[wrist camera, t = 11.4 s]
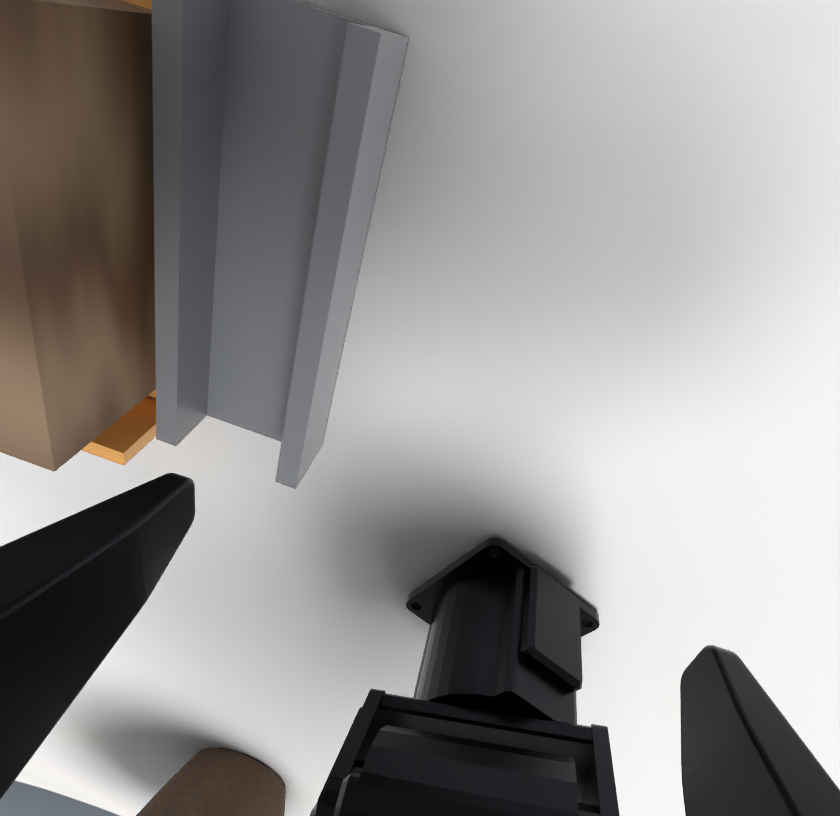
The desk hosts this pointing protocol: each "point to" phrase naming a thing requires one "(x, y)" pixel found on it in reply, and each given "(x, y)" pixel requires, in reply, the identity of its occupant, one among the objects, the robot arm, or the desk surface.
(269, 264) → the rack
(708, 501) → the desk surface
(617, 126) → the desk surface
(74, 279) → the panel
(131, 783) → the desk surface
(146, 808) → the plant pot
